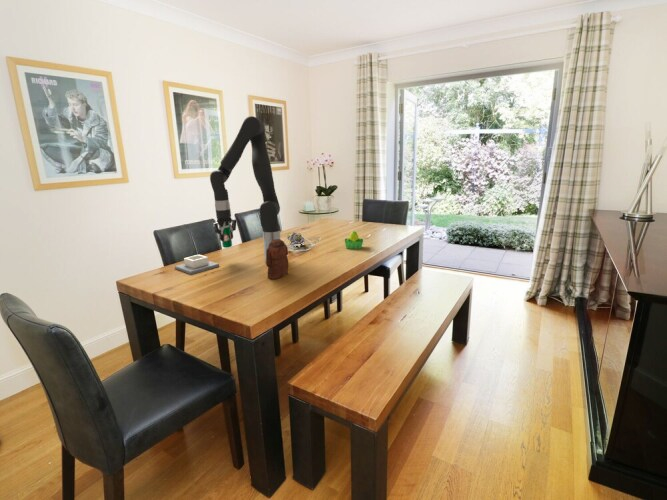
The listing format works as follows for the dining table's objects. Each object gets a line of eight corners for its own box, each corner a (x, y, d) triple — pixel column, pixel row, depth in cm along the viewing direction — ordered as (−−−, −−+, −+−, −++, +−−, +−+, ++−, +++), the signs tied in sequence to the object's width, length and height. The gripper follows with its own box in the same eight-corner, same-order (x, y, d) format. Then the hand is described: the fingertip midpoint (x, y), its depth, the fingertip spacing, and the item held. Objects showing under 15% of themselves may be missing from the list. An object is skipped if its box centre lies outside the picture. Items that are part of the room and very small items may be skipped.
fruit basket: (363, 246, 220) (363, 228, 217) (363, 250, 211) (363, 231, 208) (345, 246, 221) (344, 228, 218) (344, 250, 212) (344, 231, 210)
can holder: (219, 266, 186) (218, 256, 184) (191, 274, 174) (189, 263, 172) (202, 261, 195) (201, 251, 194) (174, 268, 183) (173, 258, 182)
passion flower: (299, 256, 220) (292, 244, 212) (288, 250, 227) (281, 238, 219) (311, 244, 224) (304, 231, 216) (300, 238, 231) (293, 226, 222)
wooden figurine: (280, 271, 176) (277, 236, 171) (290, 273, 172) (288, 237, 168) (264, 278, 166) (261, 241, 161) (275, 280, 163) (272, 243, 158)
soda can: (221, 247, 189) (218, 226, 186) (225, 245, 194) (222, 224, 191) (229, 247, 188) (227, 226, 185) (233, 245, 193) (231, 224, 190)
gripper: (215, 211, 178) (219, 243, 182) (238, 207, 189) (241, 237, 193) (206, 210, 183) (211, 241, 187) (230, 206, 193) (233, 236, 198)
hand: (226, 239), depth 190 cm, fingers closed on soda can, 5 cm apart
